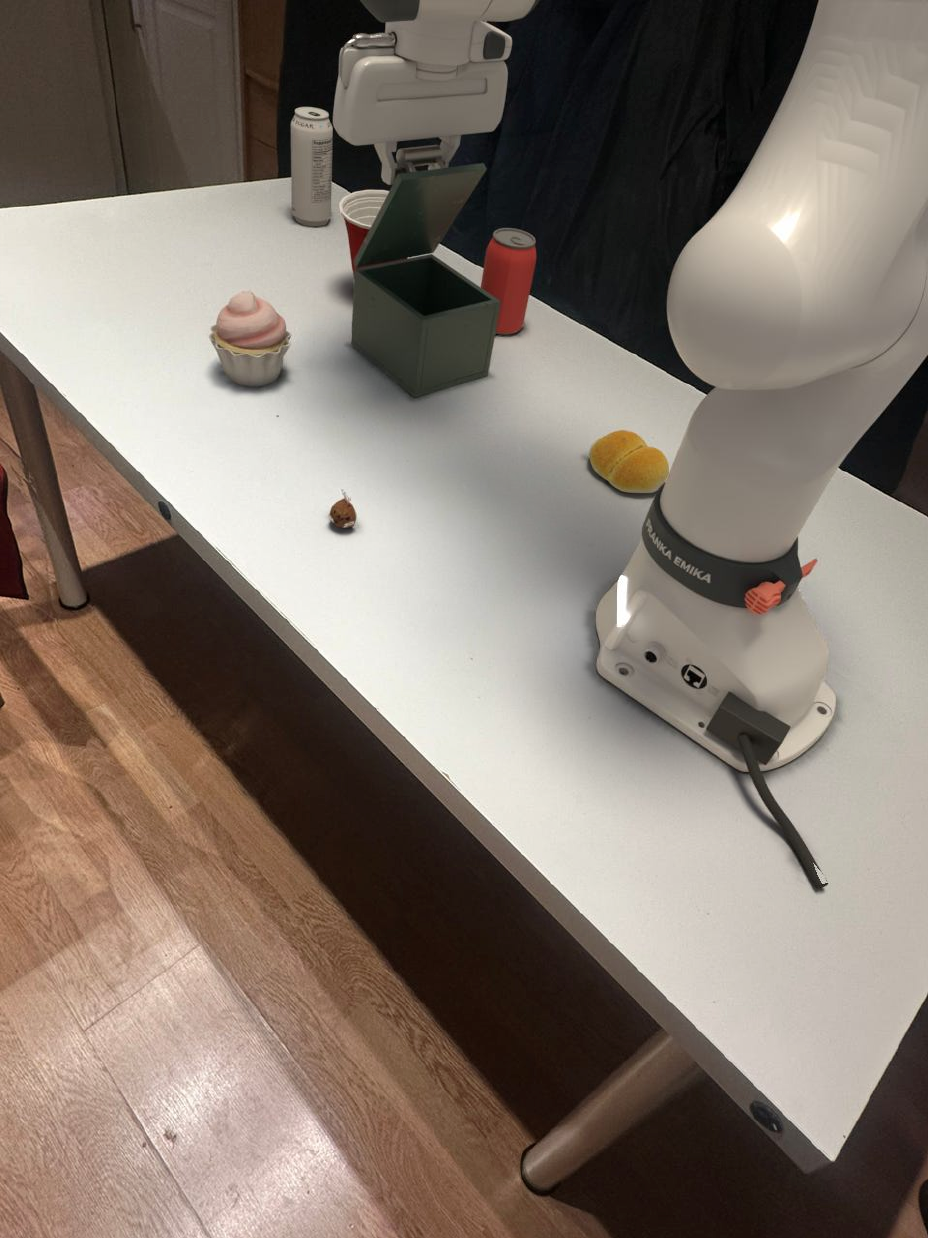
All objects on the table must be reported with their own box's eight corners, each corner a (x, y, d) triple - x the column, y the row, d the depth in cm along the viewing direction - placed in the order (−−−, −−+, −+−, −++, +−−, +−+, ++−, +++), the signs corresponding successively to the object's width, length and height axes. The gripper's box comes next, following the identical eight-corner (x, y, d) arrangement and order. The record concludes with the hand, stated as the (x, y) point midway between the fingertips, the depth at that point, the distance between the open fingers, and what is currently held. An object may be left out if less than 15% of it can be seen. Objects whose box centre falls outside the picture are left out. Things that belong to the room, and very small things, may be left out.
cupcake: (301, 392, 95) (300, 309, 88) (218, 397, 92) (211, 312, 85) (284, 350, 101) (283, 270, 94) (206, 354, 98) (198, 271, 91)
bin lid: (487, 168, 90) (465, 128, 91) (401, 180, 85) (379, 136, 85) (433, 252, 103) (415, 217, 103) (355, 267, 97) (336, 229, 97)
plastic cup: (321, 297, 112) (323, 205, 103) (359, 269, 119) (363, 181, 111) (393, 321, 110) (400, 229, 101) (426, 292, 117) (436, 204, 109)
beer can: (491, 339, 110) (506, 249, 102) (466, 316, 114) (479, 227, 105) (531, 333, 113) (549, 245, 105) (506, 310, 117) (521, 223, 108)
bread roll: (633, 506, 89) (644, 476, 86) (575, 462, 93) (584, 433, 90) (680, 482, 93) (692, 453, 91) (623, 441, 98) (632, 412, 95)
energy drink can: (310, 208, 132) (310, 102, 121) (338, 221, 130) (341, 115, 119) (283, 217, 128) (281, 109, 117) (312, 230, 126) (313, 121, 116)
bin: (487, 375, 104) (501, 301, 97) (414, 397, 98) (422, 320, 91) (423, 326, 110) (431, 253, 103) (350, 344, 104) (354, 268, 97)
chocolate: (322, 519, 81) (323, 486, 78) (343, 513, 82) (344, 480, 79) (337, 537, 79) (338, 504, 76) (357, 531, 80) (359, 498, 77)
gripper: (360, 44, 75) (352, 201, 85) (524, 39, 85) (500, 180, 95) (322, 23, 78) (319, 177, 88) (486, 20, 88) (466, 159, 98)
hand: (414, 178), depth 92 cm, fingers closed on bin lid, 5 cm apart
